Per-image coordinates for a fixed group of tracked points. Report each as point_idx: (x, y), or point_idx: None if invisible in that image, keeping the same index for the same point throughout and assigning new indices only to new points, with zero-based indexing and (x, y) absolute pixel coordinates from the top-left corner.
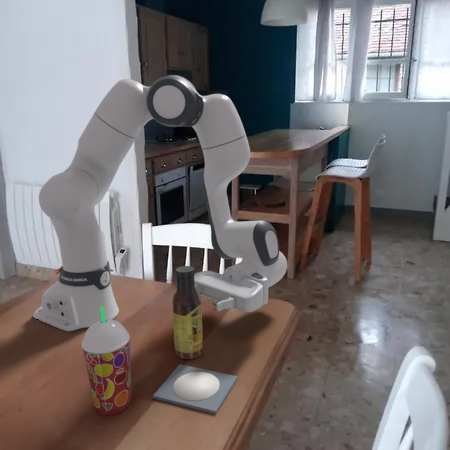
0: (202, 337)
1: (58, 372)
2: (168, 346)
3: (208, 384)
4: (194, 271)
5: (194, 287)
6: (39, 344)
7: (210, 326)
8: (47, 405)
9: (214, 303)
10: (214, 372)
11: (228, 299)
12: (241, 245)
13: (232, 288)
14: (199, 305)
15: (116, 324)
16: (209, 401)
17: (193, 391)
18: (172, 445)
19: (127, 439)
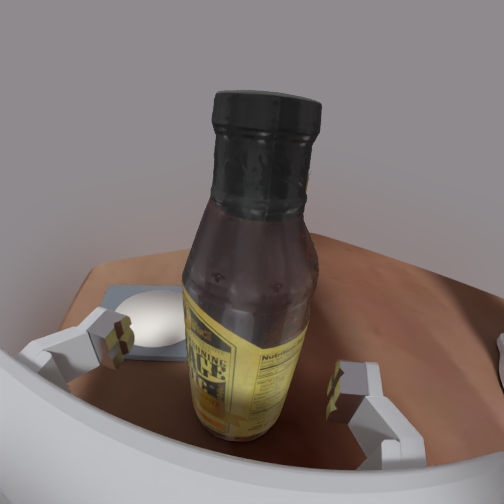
0: (193, 395)
1: (392, 287)
2: (316, 414)
3: (134, 321)
4: (219, 109)
5: (212, 199)
6: (477, 308)
7: None
8: (333, 257)
9: (120, 313)
10: (131, 352)
11: (48, 342)
12: None
13: (12, 431)
14: (182, 273)
15: None
16: (123, 295)
17: (155, 303)
18: (152, 254)
19: None
